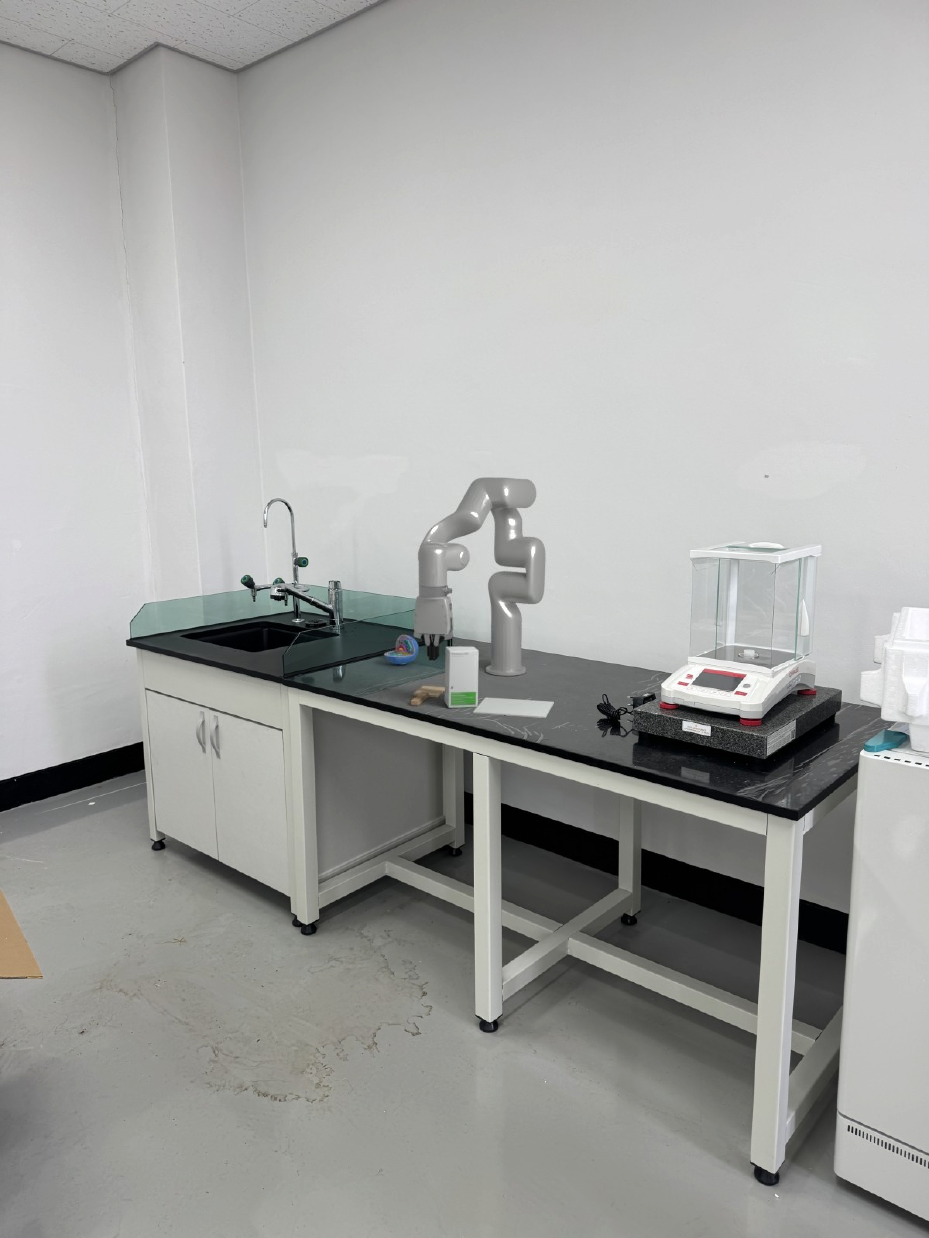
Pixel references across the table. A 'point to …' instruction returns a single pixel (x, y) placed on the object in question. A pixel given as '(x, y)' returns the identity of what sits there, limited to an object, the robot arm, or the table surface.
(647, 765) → the table surface
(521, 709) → the mat
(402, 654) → the cell model
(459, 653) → the skincare box
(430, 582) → the robot arm
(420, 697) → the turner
